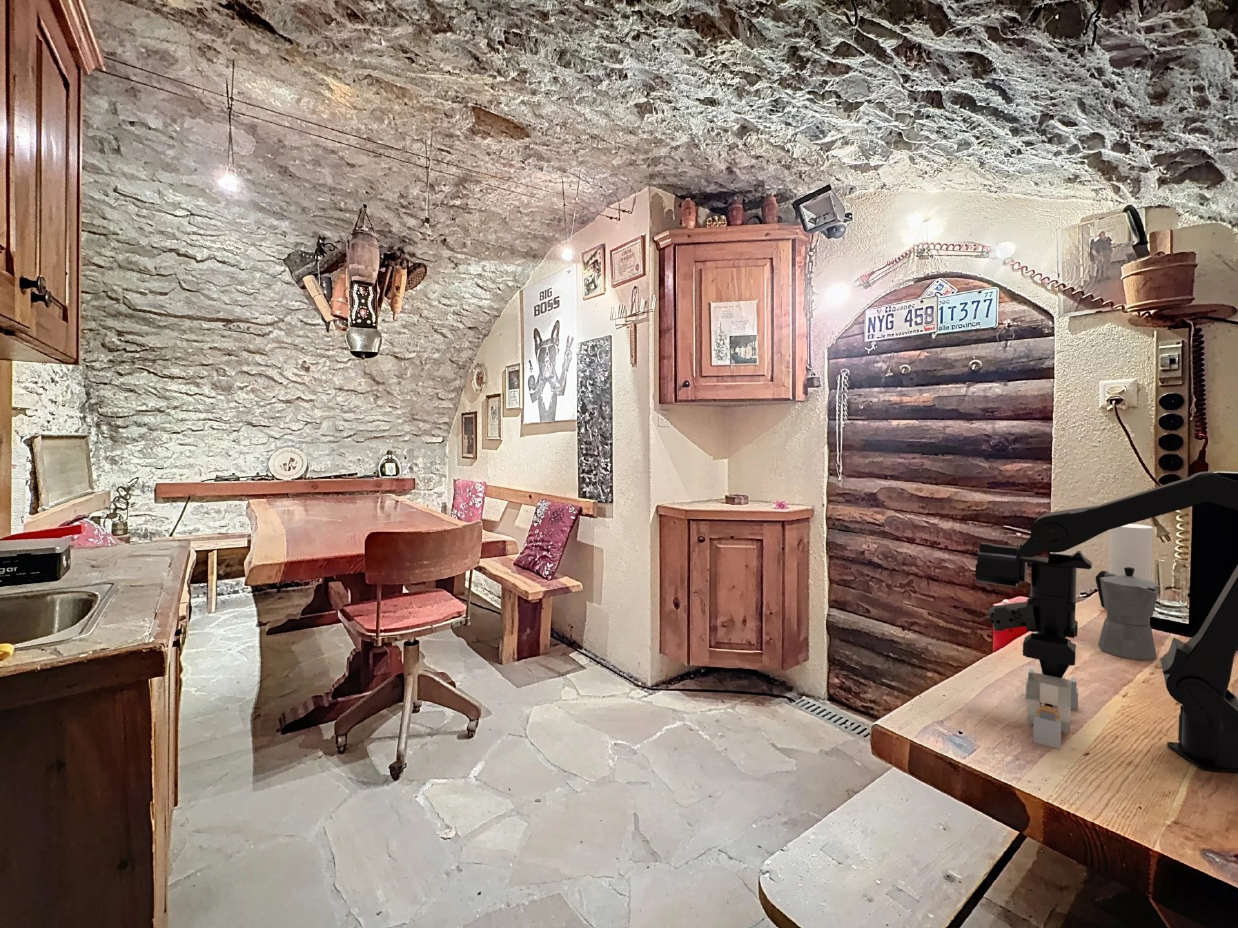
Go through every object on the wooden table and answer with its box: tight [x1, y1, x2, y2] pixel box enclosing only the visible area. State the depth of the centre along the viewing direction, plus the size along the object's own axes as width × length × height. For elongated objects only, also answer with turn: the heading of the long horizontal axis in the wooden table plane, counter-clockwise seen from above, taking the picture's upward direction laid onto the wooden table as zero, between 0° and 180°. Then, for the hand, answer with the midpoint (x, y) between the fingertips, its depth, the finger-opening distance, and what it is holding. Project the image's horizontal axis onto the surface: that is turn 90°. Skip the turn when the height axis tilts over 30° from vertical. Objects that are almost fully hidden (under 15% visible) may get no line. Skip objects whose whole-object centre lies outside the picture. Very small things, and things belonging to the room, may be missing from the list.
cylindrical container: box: [1108, 523, 1154, 624], centre depth 129 cm, size 7×7×25 cm
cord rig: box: [1025, 667, 1079, 750], centre depth 91 cm, size 19×7×5 cm, turn 141°
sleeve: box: [1026, 672, 1072, 734], centre depth 88 cm, size 4×5×7 cm
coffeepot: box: [1095, 567, 1161, 661], centre depth 120 cm, size 15×9×18 cm, turn 175°
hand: (1050, 688), depth 91 cm, fingers closed
